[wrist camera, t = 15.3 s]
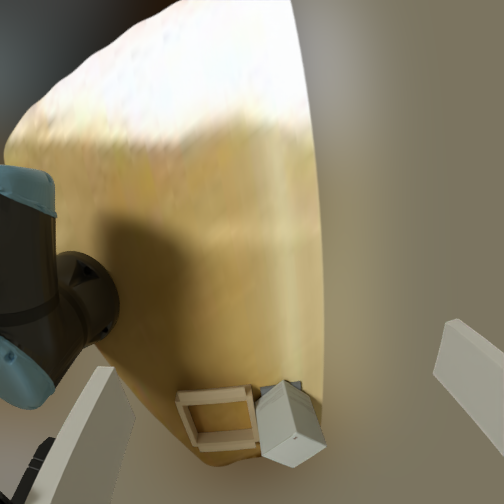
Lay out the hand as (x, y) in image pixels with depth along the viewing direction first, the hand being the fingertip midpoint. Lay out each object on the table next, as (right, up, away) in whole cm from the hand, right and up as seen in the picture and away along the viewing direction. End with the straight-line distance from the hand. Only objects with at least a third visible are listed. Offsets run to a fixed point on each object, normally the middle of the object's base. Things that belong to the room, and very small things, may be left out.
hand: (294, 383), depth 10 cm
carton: (-7, -25, +39) cm, 46 cm away
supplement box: (+4, -21, +38) cm, 44 cm away
